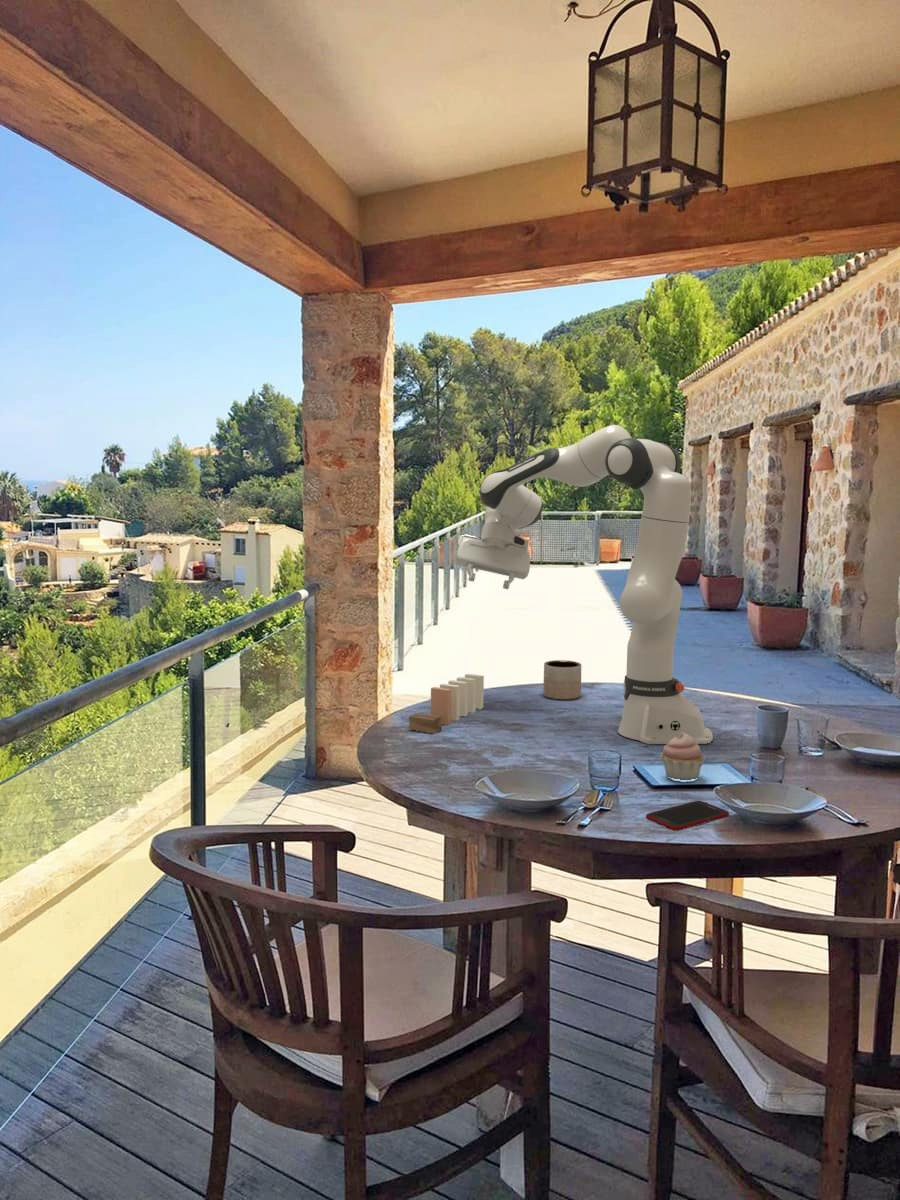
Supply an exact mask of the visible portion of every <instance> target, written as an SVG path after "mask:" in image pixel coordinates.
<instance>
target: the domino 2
mask: <svg viewBox="0 0 900 1200" xmlns="http://www.w3.org/2000/svg"><path fill="white" fill-rule="evenodd" d="M439 688H446V689H451V721H454V722H455V721H456V722H458V721H459V720H460V716H459V714H460V686H459V685H451V684H448V683H441V684H439Z"/></svg>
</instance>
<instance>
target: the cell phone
mask: <svg viewBox="0 0 900 1200" xmlns="http://www.w3.org/2000/svg"><path fill="white" fill-rule="evenodd" d="M729 816H730V812H729V810H725V809H724V808H721V807H718V806H716V805H713V804H710V803H708V802H705V801H702V800H695V801H691V802H687V803H682V804H679V805H675V806H671V807H668V808H664V809H663V808H662V809H659V810H656V811H652V812H649V813H646V814H645V819H646V818H647V819H646V820H648V819H649V820H648V821H650V820H652V822H653V821H654V822H653V823H655V822H658V823H657V824H659V823H660V824H659V825H660V826H662V825H663V826H662V827H664V826H666V827H668V828H670V829H669V830H671V829H672V830H671V831H675V830H677V831H681V830H684V829H683V828H685V829H688V828H687V827H689V826H692V827H694V826H693V825H696V826H698V825H697V824H699V825H702V824H701V823H703V824H705V823H704V822H706V823H708V822H713V821H717V820H721V819H722V818H723V819H724V818H727V817H729ZM716 819H717V820H716ZM712 820H713V821H712ZM666 827H665V828H666ZM689 828H690V827H689ZM680 829H681V830H680Z"/></svg>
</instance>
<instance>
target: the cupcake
mask: <svg viewBox="0 0 900 1200" xmlns="http://www.w3.org/2000/svg"><path fill="white" fill-rule="evenodd" d="M662 750H663V751H661V752H660V754H661V755H659V757H660V759H661V761H662V763H663V767H664V770H665V771H664V772H665V776H666V775H667V776H668V777H670V778H674V779H680V780H691V779H696V778H698V779H699V775H700V773H701V768H702V767H703V765H704V763H705V761H706V755H703V754H702V749H701V747H700V745H699V744H696V743H695V741H694V740H693V738H692V737H691V736H689V735H687V734H685V733H684V732H681V734H680V736H679V737H675V738H672V739H671V740H670V741H669V743H668V744H664V746H663V748H662ZM667 776H666V777H667Z"/></svg>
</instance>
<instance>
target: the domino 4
mask: <svg viewBox="0 0 900 1200" xmlns="http://www.w3.org/2000/svg"><path fill="white" fill-rule="evenodd" d="M456 681H462V682H468V713H469V712H471V713H470V714H474V713H477V709H476V679H472V678H465V676H464V677H463V676H458V677H456Z"/></svg>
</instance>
